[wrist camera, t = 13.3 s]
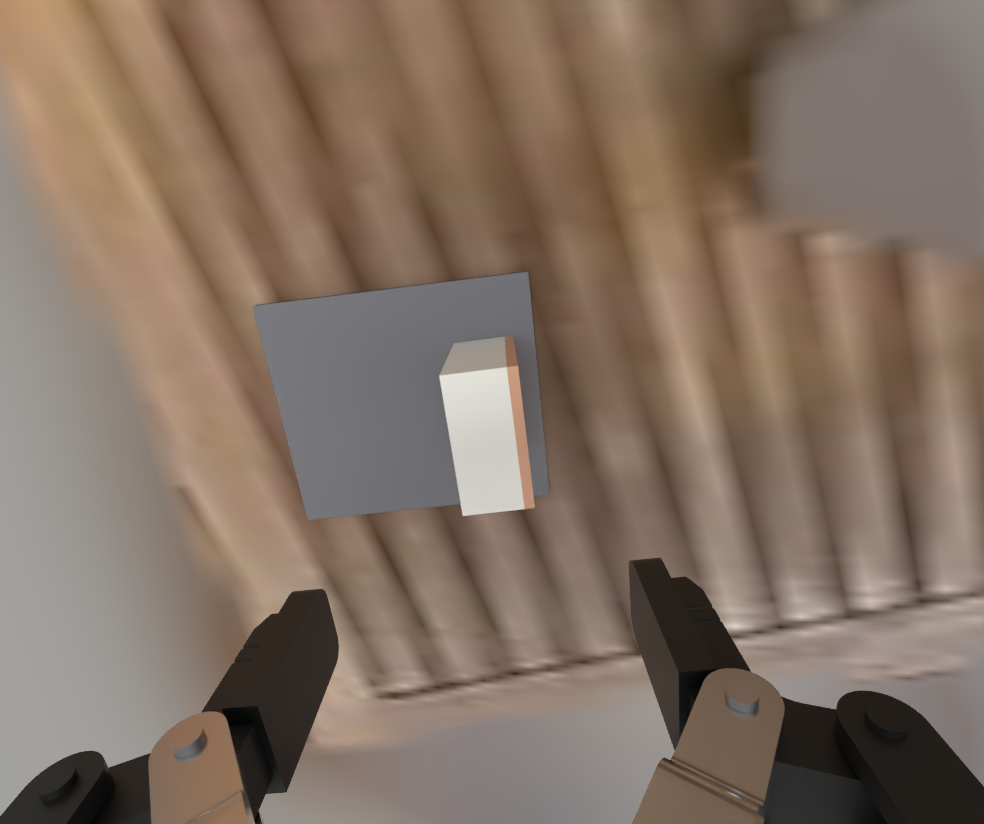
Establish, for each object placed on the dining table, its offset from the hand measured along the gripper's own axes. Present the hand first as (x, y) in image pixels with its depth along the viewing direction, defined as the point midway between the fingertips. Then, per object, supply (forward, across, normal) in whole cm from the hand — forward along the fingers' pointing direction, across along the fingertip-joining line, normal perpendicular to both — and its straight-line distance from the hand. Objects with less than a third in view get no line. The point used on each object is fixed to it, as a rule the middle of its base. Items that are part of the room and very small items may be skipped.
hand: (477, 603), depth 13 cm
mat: (+20, +5, 0) cm, 20 cm away
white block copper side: (+19, 0, 0) cm, 19 cm away
